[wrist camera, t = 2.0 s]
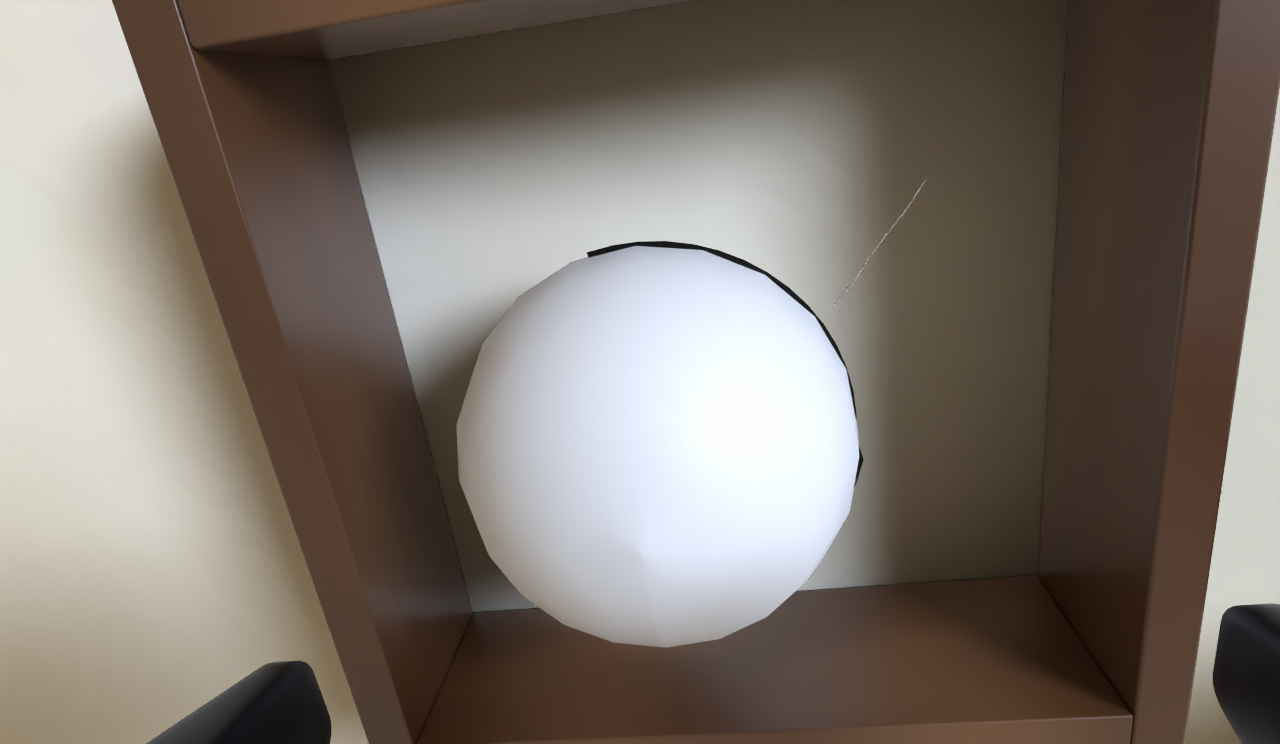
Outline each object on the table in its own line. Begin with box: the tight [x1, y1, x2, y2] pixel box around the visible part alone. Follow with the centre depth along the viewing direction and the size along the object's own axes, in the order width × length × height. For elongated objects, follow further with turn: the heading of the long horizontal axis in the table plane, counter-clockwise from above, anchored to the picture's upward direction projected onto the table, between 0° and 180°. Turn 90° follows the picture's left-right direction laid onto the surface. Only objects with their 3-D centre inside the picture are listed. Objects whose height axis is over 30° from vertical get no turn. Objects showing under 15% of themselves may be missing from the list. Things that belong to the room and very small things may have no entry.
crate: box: [112, 0, 1280, 744], centre depth 15 cm, size 17×16×4 cm
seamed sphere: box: [456, 177, 927, 648], centre depth 14 cm, size 10×7×7 cm
